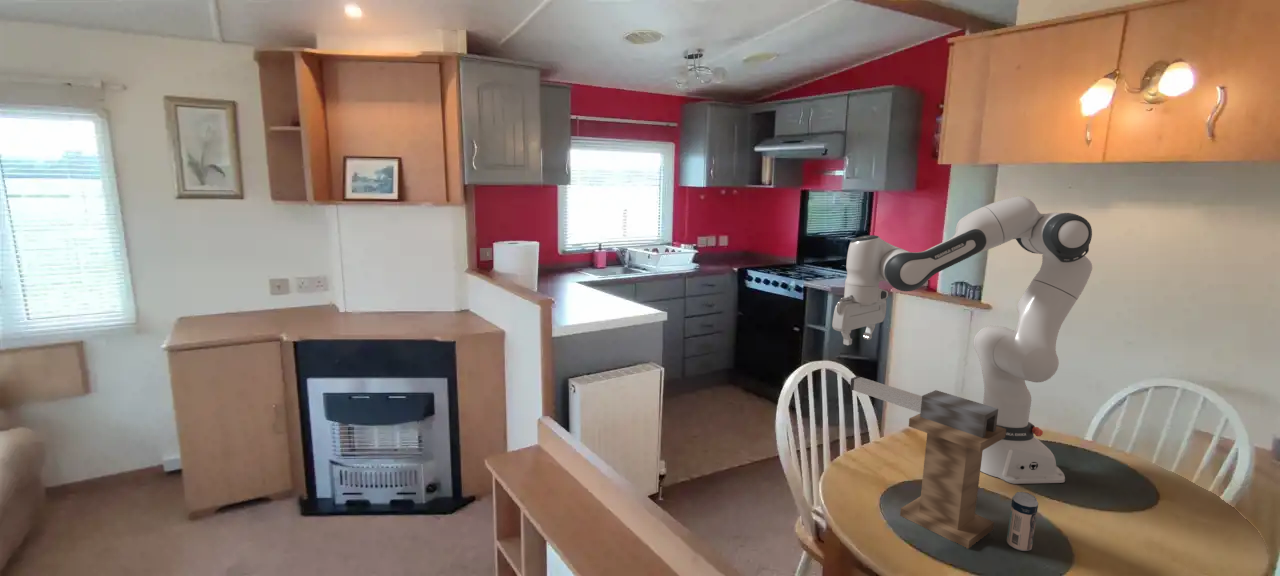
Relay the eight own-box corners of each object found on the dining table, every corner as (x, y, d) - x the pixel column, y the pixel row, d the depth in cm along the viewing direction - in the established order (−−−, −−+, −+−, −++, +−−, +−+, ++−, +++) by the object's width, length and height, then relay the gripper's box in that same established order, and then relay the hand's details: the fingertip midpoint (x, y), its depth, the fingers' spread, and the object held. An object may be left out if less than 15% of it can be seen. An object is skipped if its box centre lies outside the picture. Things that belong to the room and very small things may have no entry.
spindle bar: (850, 389, 157) (850, 378, 156) (856, 386, 159) (857, 376, 158) (932, 416, 140) (933, 404, 139) (938, 413, 141) (940, 401, 141)
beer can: (1035, 554, 130) (1042, 503, 128) (1011, 551, 131) (1018, 501, 129) (1026, 540, 135) (1033, 492, 132) (1002, 538, 136) (1009, 489, 133)
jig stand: (900, 515, 144) (911, 397, 139) (926, 499, 151) (938, 386, 146) (968, 548, 132) (983, 420, 126) (993, 529, 139) (1009, 407, 133)
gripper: (848, 300, 158) (844, 350, 161) (891, 291, 170) (887, 338, 173) (828, 296, 163) (825, 345, 166) (871, 288, 175) (868, 333, 178)
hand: (857, 341), depth 169 cm, fingers open, 8 cm apart
